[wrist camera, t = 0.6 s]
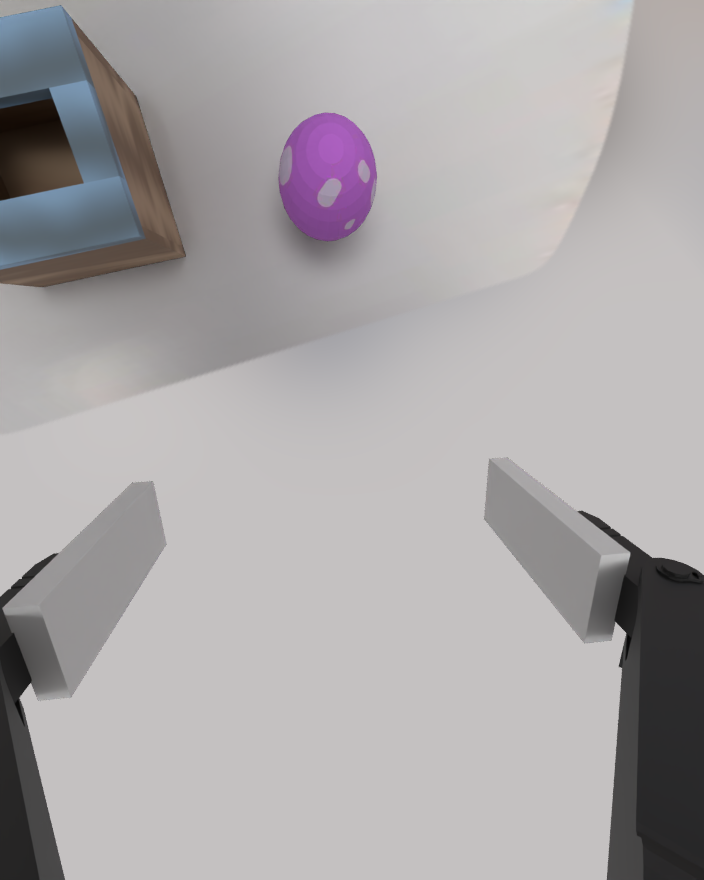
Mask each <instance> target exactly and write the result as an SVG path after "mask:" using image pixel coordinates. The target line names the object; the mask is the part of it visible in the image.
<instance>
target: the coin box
mask: <svg viewBox="0 0 704 880" xmlns="http://www.w3.org/2000/svg"><path fill="white" fill-rule="evenodd" d="M181 257H186V255H185V252H184V248H183V245H182V242H181V239H180V236H179V232H178V229H177V226H176V223H175V220H174V216H173V213H172V210H171V207H170V204H169V200H168V197H167V194H166V191H165V188H164V184H163V181H162V178H161V175H160V172H159V168H158V165H157V162H156V159H155V155H154V152H153V149H152V146H151V143H150V139H149V136H148V133H147V130H146V127H145V123H144V120H143V117H142V114H141V111H140V107H139V104H138V101H137V98H136V96H135V95H134V93H133V92H132V91H131V90H130V88H129V87H128V86H127V85H126V84H125V82H124V81H123V80H122V79H121V78H120V76H119V75H118V74H117V73H116V71H115V70H114V69H113V68H112V67H111V65H110V64H109V63H108V62H107V61H106V59H105V58H104V57H103V56H102V54H101V53H100V52H99V51H98V50H97V48H96V47H95V46H94V45H93V44H92V42H91V41H90V40H89V39H88V37H87V36H86V35H85V34H84V33H83V31H82V30H81V29H80V28H79V27H78V25H77V24H76V23H75V22H74V20H73V19H72V18H71V17H70V16H69V14H68V13H67V12H66V11H65V10H64V8H63V7H62V6H61V5H60V6H55V7H50V8H45V9H40V10H35V11H30V12H25V13H20V14H15V15H10V16H5V17H0V283H3V284H14V285H24V286H35V287H46V286H51V285H55V284H60V283H65V282H69V281H74V280H79V279H83V278H88V277H93V276H97V275H102V274H107V273H111V272H116V271H121V270H125V269H130V268H134V267H139V266H144V265H148V264H153V263H158V262H162V261H167V260H172V259H176V258H181Z"/></svg>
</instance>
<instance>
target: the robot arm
mask: <svg viewBox="0 0 704 880" xmlns="http://www.w3.org/2000/svg"><path fill="white" fill-rule="evenodd" d="M484 519H485V521H486V522H487V523H488V524H489V526H490V527H491V528H492V529H493V531H494V532H495V533H496V534H497V536H498V537H499V538H500V539H501V540H502V541H503V543H504V544H505V546H506V547H507V548H508V549H509V551H510V552H511V553H512V554H513V555H514V557H515V558H516V559H517V560H518V561H519V563H520V564H521V565H522V567H523V568H524V569H525V570H526V571H527V573H528V574H529V575H530V577H531V578H532V579H533V580H534V582H535V583H536V584H537V585H538V587H539V588H540V589H541V590H542V591H543V593H544V594H545V595H546V596H547V598H548V599H549V600H550V601H551V603H552V604H553V605H554V606H555V608H556V609H557V610H558V611H559V613H560V614H561V615H562V616H563V617H564V619H565V620H566V621H567V622H568V624H569V625H570V626H571V627H572V629H573V630H574V631H575V632H576V634H577V635H578V636H579V637H580V639H581V640H582V641H583V642H584V643H593V642H602V641H611V640H612V635H613V631H614V626H615V622H616V623H617V624H618V625H619V626H620V627H621V628H622V629H623V630H624V631H625V632H626V638H625V642H624V646H623V651H622V655H621V659H620V664H619V667H621V668H622V678H621V692H620V707H619V720H618V733H617V747H616V762H615V776H614V789H613V803H612V817H611V830H610V845H609V858H608V859H609V860H608V872H607V880H704V575H702V573H700V572H699V571H698V570H696V569H694V568H692V567H690V566H688V565H686V564H684V563H681V562H677V561H675V560H670V559H665V558H652V557H650V556H649V555H648V554H646V553H645V552H643V551H642V550H641V549H640V548H638V547H637V546H636V545H634V544H633V543H631V542H630V541H629V540H627V539H626V538H625V537H623V536H621V535H620V534H619V533H618V532H616V531H615V530H614V529H611V527H610V526H608V525H607V524H606V523H604V522H603V521H602V520H600V519H599V518H597V517H595V516H593V515H590V514H588V513H586V512H583V511H576V510H574V509H573V508H572V507H571V506H569V505H568V504H567V503H565V502H564V501H563V500H562V499H560V498H559V497H558V496H556V495H555V494H554V493H553V492H551V491H550V490H549V489H547V488H546V487H545V486H544V485H542V484H541V483H540V482H538V481H537V480H536V479H535V478H533V477H532V476H531V475H529V474H528V473H527V472H525V471H524V470H523V469H522V468H520V467H519V466H517V465H516V464H515V463H514V462H513V461H511V460H510V459H509V458H492V459H489V466H488V478H487V491H486V504H485V516H484ZM165 546H166V540H165V535H164V531H163V526H162V521H161V516H160V512H159V507H158V502H157V498H156V493H155V488H154V483H153V481H151V482H136V483H131V484H130V485H129V486H128V487H127V488H126V489H125V490H124V491H123V492H122V493H121V494H120V495H119V496H118V497H117V498H116V499H115V500H114V501H113V502H112V503H111V504H110V505H109V506H108V507H107V508H106V509H105V510H103V511H102V512H101V513H100V514H99V515H98V516H97V517H96V518H95V519H94V520H93V521H92V522H91V523H90V524H89V525H88V526H87V527H86V528H85V529H84V530H83V531H82V532H81V533H80V534H79V535H77V537H75V538H74V539H73V540H72V541H71V542H70V543H69V544H68V545H67V546H66V547H65V548H64V549H63V550H62V551H61V552H60V553H57V554H52V555H51V556H49V557H47V558H46V559H44V560H42V561H41V562H39V563H37V564H35V565H34V566H33V567H32V568H31V569H30V570H29V571H28V572H27V573H26V574H25V575H23V577H22V579H19V580H18V581H17V582H16V583H15V584H14V585H13V586H12V587H11V589H9V590H7V591H6V592H5V593H4V594H3V595H2V596H1V597H0V880H65V878H64V874H63V870H62V865H61V861H60V857H59V853H58V849H57V845H56V841H55V837H54V832H53V828H52V824H51V820H50V816H49V812H48V808H47V803H46V799H45V795H44V791H43V787H42V783H41V779H40V775H39V770H38V766H37V762H36V758H35V754H34V750H33V746H32V742H31V738H30V733H29V729H28V725H27V721H26V717H25V713H24V709H23V706H22V704H21V701H20V699H19V697H20V696H21V695H22V693H23V692H24V690H25V689H26V688H27V687H28V685H29V684H30V683H31V684H32V686H33V689H34V692H35V694H36V697H37V700H38V701H41V700H50V699H60V698H70V697H72V695H73V694H74V692H75V690H76V689H77V687H78V685H79V684H80V682H81V681H82V679H83V678H84V676H85V674H86V673H87V671H88V669H89V668H90V666H91V665H92V663H93V661H94V660H95V658H96V657H97V655H98V653H99V652H100V650H101V649H102V647H103V645H104V643H105V642H106V641H107V639H108V637H109V636H110V634H111V633H112V631H113V629H114V628H115V626H116V624H117V623H118V621H119V620H120V618H121V616H122V615H123V613H124V612H125V610H126V608H127V607H128V605H129V603H130V602H131V600H132V599H133V597H134V595H135V594H136V592H137V591H138V589H139V588H140V586H141V584H142V583H143V581H144V579H145V578H146V576H147V575H148V573H149V571H150V570H151V568H152V566H153V565H154V563H155V562H156V560H157V559H158V557H159V555H160V554H161V552H162V551H163V549H164V547H165Z"/></svg>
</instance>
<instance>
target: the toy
mask: <svg viewBox="0 0 704 880" xmlns="http://www.w3.org/2000/svg"><path fill="white" fill-rule="evenodd" d="M376 180H377V173H376V165H375V159H374V155H373V152H372V149H371V146H370V144H369V142H368V140H367V139H366V137H365V135H364V134H363V132H362V131H361V130H360V129H359V128H358V127H357V126H356V125H355V124H354V123H353V122H352V121H350V120H349V119H347V118H346V117H344V116H341V115H338V114H336V113H321V114H316V115H314V116H312V117H310V118H308V119H306V120H305V121H303V122H302V123H301V124H300V125H298V126H297V127H296V128H295V129H294V131H293V132H292V134H291V135H290V137H289V138H288V140H287V142H286V144H285V147H284V150H283V153H282V155H281V159H280V167H279V189H280V194H281V198H282V201H283V204H284V208H285V210H286V212H287V214H288V215H289V217H290V219H291V220H292V221H293V223H294V224H295V225H296V226H297V227H298V228H299V229H300V230H301V231H302V232H304V233H305V234H306V235H308V236H310V237H312V238H315V239H317V240H323V241H333V240H339V239H341V238H344V237H346V236H348V235H349V234H351V233H352V232H354V231H355V230H357V228H358V227H359V226H360V225H361V224H362V223H363V222H364V220H365V218H366V216H367V214H368V213H369V211H370V209H371V207H372V203H373V200H374V196H375V191H376Z"/></svg>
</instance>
